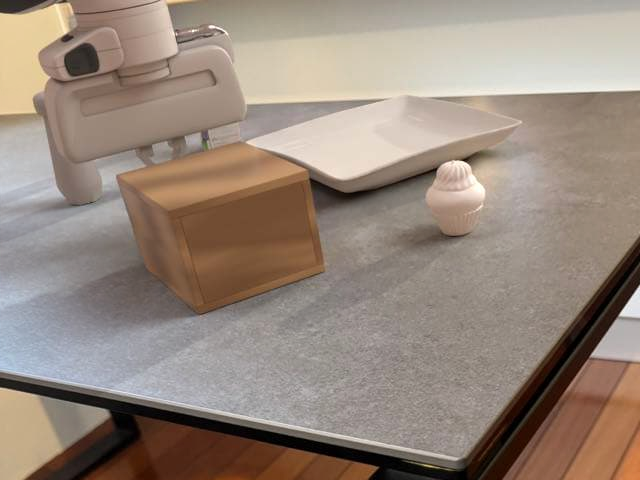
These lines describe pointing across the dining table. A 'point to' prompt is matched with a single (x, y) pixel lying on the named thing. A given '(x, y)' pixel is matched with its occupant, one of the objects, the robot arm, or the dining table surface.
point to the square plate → (386, 141)
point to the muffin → (455, 198)
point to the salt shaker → (70, 168)
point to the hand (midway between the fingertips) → (171, 185)
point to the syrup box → (220, 135)
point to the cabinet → (224, 223)
